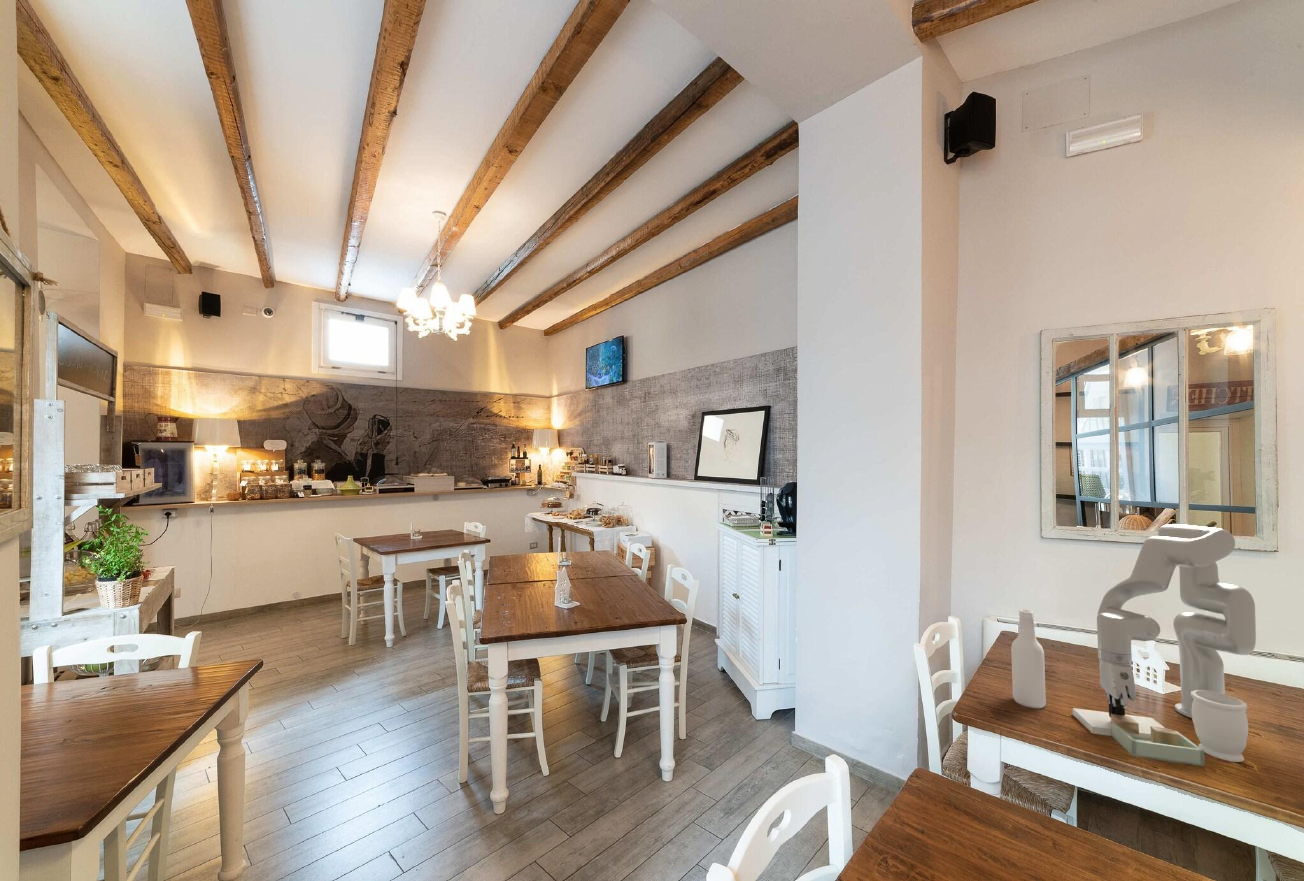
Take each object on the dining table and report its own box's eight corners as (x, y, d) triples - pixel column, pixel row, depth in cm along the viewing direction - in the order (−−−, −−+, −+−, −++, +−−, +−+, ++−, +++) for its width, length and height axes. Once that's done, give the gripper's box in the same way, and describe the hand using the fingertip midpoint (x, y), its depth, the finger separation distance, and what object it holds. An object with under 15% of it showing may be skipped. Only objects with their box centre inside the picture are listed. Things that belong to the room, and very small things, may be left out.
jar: (1258, 770, 132) (1255, 710, 132) (1201, 757, 137) (1198, 700, 138) (1239, 750, 141) (1236, 695, 141) (1187, 739, 146) (1184, 686, 147)
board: (1152, 724, 155) (1151, 717, 155) (1178, 745, 143) (1178, 737, 143) (1072, 714, 161) (1072, 708, 161) (1092, 733, 149) (1092, 726, 149)
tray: (1177, 745, 143) (1177, 731, 143) (1204, 766, 133) (1204, 750, 133) (1112, 736, 147) (1111, 722, 148) (1133, 756, 138) (1132, 741, 138)
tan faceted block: (1171, 729, 142) (1177, 734, 139) (1171, 745, 142) (1178, 751, 139) (1150, 726, 144) (1156, 731, 141) (1151, 742, 144) (1157, 747, 141)
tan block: (1130, 726, 149) (1129, 716, 149) (1139, 734, 145) (1138, 723, 145) (1111, 724, 151) (1110, 713, 151) (1119, 731, 147) (1118, 721, 147)
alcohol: (1047, 702, 169) (1044, 610, 170) (1044, 712, 162) (1041, 616, 164) (1015, 694, 175) (1012, 605, 176) (1010, 703, 168) (1008, 611, 170)
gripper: (1145, 667, 145) (1148, 733, 144) (1116, 649, 159) (1118, 709, 158) (1112, 663, 147) (1115, 729, 146) (1087, 646, 161) (1089, 706, 160)
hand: (1117, 719), depth 152 cm, fingers closed
